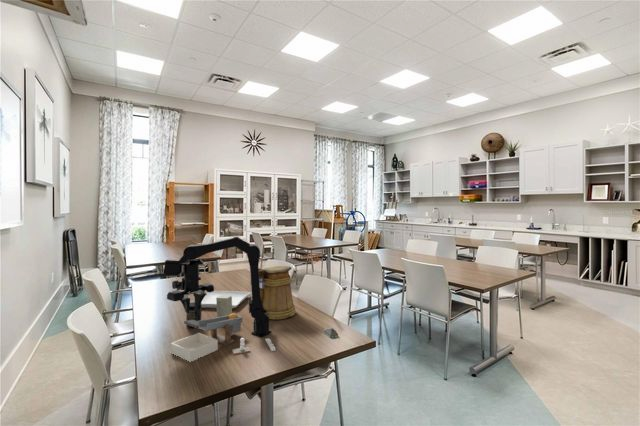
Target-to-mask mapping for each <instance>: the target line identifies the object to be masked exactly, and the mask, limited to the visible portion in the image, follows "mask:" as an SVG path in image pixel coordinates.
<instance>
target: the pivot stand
mask: <svg viewBox="0 0 640 426" xmlns="http://www.w3.org/2000/svg"><path fill="white" fill-rule="evenodd" d="M208 336H209V337H212V338H214V339H217V340H218V344H221V345H223V346H227V345H229V344H232V343H233V342H234V339H232V338H231V336H232V332H231V324H227V325H225V327H224V336H223V335H221V334H218V330H217V329H214V330H210V335H208Z"/></svg>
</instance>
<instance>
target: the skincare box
mask: <svg viewBox="0 0 640 426" xmlns="http://www.w3.org/2000/svg"><path fill="white" fill-rule="evenodd" d="M216 302H217V308H216V317H221V316H227V315H230V314H232V313H233V308H232V296H219V297H217V298H216Z"/></svg>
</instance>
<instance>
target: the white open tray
mask: <svg viewBox="0 0 640 426" xmlns="http://www.w3.org/2000/svg"><path fill="white" fill-rule="evenodd" d="M209 336H210V335H207V334H204V333H201V332H196V333H193V334H191V335H188V336H186V337H183V338H180V339H178V340H175V341H173V342H171V343H170V354H171V353H172V355H173V354H174V356H175V355H176V356H175V357H177V356H179V357H181V358H180V359H182V358H183V359H182V360H184V359H185V360H184V361H186V360H187V361H186V362H188V361H189V362H188V363H192V362H194V361H197V360H199V359H201V358H202V357H205V356H208V355H209V354H212V353H214V352H216V351H218V350H219V349H218V348H219V347H218V346H219V345H218V344H219V343H218V340H217V339H214V338H212V337H209ZM179 357H178V358H179ZM200 357H201V358H200ZM198 358H199V359H198ZM191 361H192V362H191Z"/></svg>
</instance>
